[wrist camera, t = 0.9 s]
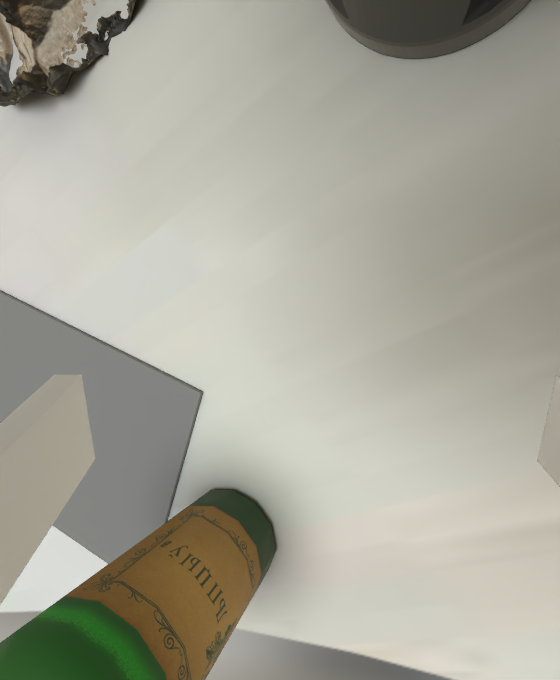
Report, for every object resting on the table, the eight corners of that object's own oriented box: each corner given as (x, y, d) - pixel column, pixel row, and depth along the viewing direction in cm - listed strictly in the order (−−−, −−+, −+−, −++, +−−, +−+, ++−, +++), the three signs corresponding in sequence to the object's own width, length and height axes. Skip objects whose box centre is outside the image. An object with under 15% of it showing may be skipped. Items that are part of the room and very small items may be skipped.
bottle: (309, 578, 39) (-11, 1172, 14) (210, 596, 44) (-168, 1068, 18) (258, 461, 39) (-152, 833, 14) (165, 490, 44) (-273, 812, 18)
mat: (203, 391, 40) (200, 393, 40) (148, 587, 47) (145, 589, 46) (-67, 257, 51) (-71, 257, 51) (-82, 429, 58) (-85, 430, 57)
